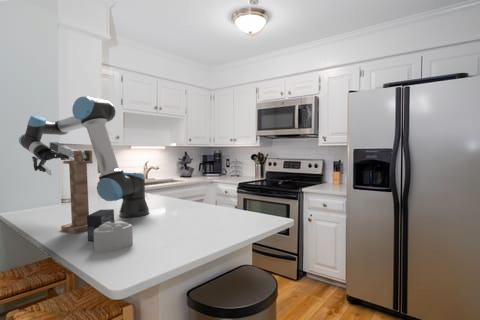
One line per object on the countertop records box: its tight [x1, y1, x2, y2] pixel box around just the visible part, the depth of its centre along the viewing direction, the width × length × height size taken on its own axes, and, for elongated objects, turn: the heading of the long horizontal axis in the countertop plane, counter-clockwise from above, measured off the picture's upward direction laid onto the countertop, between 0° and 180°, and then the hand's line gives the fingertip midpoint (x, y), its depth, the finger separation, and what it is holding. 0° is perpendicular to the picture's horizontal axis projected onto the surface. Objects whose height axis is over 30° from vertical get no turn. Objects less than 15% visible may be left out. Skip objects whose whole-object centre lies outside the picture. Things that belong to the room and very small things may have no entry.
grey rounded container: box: [93, 220, 134, 253], centre depth 104 cm, size 10×13×9 cm
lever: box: [48, 141, 88, 160], centre depth 129 cm, size 26×3×3 cm, turn 63°
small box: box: [87, 209, 115, 242], centre depth 115 cm, size 11×6×10 cm, turn 178°
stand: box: [60, 149, 93, 235], centre depth 126 cm, size 12×11×36 cm
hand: (64, 167), depth 143 cm, fingers open, 13 cm apart
